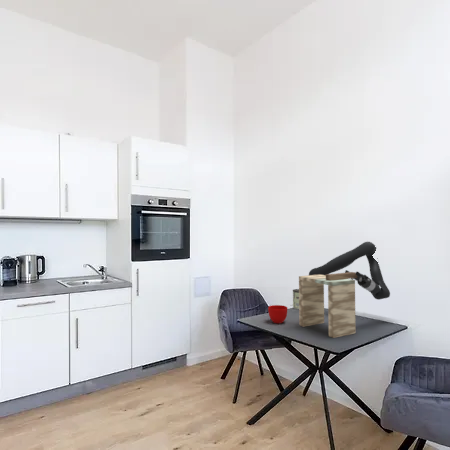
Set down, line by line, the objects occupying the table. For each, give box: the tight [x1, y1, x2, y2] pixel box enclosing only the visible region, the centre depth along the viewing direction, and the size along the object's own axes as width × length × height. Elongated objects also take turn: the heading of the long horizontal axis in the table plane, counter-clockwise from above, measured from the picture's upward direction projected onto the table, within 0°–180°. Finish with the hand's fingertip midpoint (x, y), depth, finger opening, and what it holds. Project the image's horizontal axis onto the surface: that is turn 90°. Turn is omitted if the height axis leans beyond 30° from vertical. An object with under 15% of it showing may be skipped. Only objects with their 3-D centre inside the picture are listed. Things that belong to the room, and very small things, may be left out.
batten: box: [326, 271, 357, 281], centre depth 213 cm, size 4×23×3 cm, turn 118°
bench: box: [298, 274, 357, 339], centre depth 216 cm, size 30×18×32 cm, turn 28°
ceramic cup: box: [267, 304, 288, 324], centre depth 235 cm, size 13×17×10 cm
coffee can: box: [292, 288, 299, 310], centre depth 274 cm, size 10×10×14 cm
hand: (351, 272), depth 217 cm, fingers open, 8 cm apart
